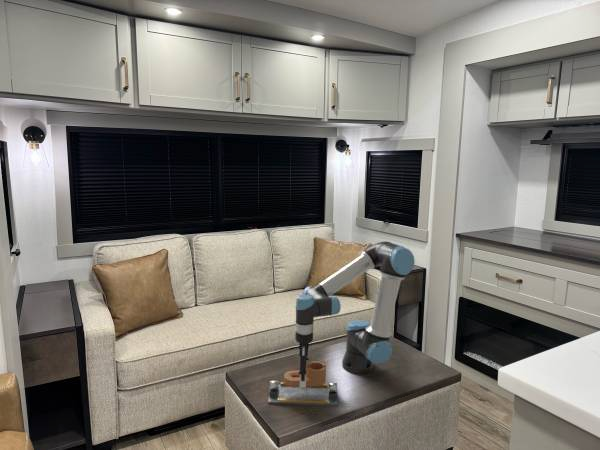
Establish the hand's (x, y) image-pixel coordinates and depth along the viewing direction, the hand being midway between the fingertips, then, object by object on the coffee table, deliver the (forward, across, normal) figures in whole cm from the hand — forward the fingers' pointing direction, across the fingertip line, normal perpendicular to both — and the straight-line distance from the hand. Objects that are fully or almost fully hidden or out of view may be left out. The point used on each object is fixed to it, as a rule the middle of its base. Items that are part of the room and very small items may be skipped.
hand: (303, 380), depth 176 cm
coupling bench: (+7, 0, 0) cm, 7 cm away
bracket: (0, 0, +1) cm, 1 cm away
